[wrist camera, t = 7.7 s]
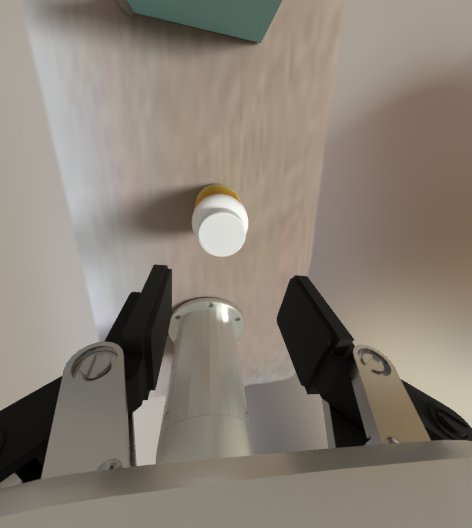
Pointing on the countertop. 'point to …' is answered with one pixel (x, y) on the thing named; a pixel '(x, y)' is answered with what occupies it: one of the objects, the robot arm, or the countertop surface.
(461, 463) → the robot arm
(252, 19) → the gate
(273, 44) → the countertop surface
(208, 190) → the supplement bottle
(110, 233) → the countertop surface
